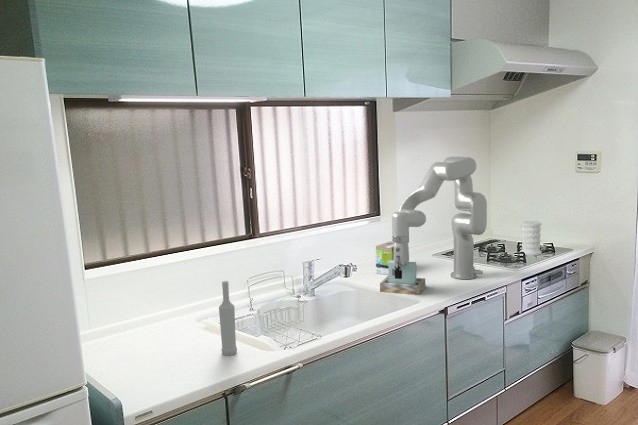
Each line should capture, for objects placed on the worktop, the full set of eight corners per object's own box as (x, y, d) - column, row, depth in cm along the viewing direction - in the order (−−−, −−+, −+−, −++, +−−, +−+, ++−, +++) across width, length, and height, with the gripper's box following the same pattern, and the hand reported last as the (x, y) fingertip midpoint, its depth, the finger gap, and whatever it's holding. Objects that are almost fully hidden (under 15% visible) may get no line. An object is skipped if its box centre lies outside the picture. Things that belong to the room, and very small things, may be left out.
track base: (425, 286, 259) (425, 278, 258) (418, 295, 246) (418, 286, 245) (388, 283, 266) (388, 275, 265) (380, 291, 253) (379, 283, 252)
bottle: (237, 355, 186) (233, 283, 182) (222, 357, 185) (217, 284, 181) (236, 349, 191) (232, 279, 187) (221, 351, 190) (217, 280, 186)
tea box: (392, 276, 280) (392, 247, 278) (375, 273, 286) (374, 245, 284) (406, 269, 292) (406, 242, 289) (390, 267, 298) (389, 240, 296)
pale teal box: (416, 287, 252) (416, 262, 250) (414, 289, 249) (414, 263, 247) (390, 285, 257) (390, 260, 255) (388, 287, 254) (388, 262, 252)
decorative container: (543, 251, 321) (543, 221, 319) (539, 256, 312) (540, 224, 309) (522, 250, 327) (522, 220, 325) (518, 254, 317) (518, 223, 315)
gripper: (404, 243, 240) (404, 281, 243) (413, 235, 256) (413, 271, 259) (387, 242, 243) (388, 280, 246) (397, 235, 259) (398, 270, 261)
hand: (401, 275), depth 252 cm, fingers open, 9 cm apart
